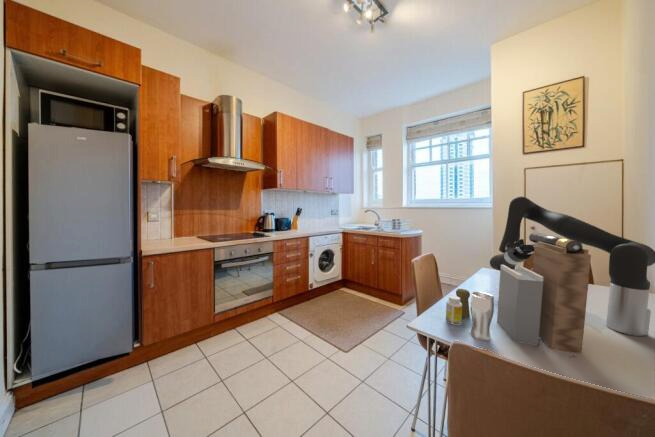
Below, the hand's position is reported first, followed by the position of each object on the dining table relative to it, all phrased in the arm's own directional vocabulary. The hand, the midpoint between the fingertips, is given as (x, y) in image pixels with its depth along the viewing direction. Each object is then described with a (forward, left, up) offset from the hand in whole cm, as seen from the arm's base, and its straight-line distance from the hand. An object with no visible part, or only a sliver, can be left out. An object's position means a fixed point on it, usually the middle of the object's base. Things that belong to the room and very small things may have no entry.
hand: (535, 241), depth 97 cm
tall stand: (0, +15, -32) cm, 36 cm away
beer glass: (+24, +19, -33) cm, 45 cm away
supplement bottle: (+31, +11, -33) cm, 46 cm away
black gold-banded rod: (0, +10, 0) cm, 10 cm away
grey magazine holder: (+10, +13, -32) cm, 37 cm away
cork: (+26, +3, -33) cm, 42 cm away
